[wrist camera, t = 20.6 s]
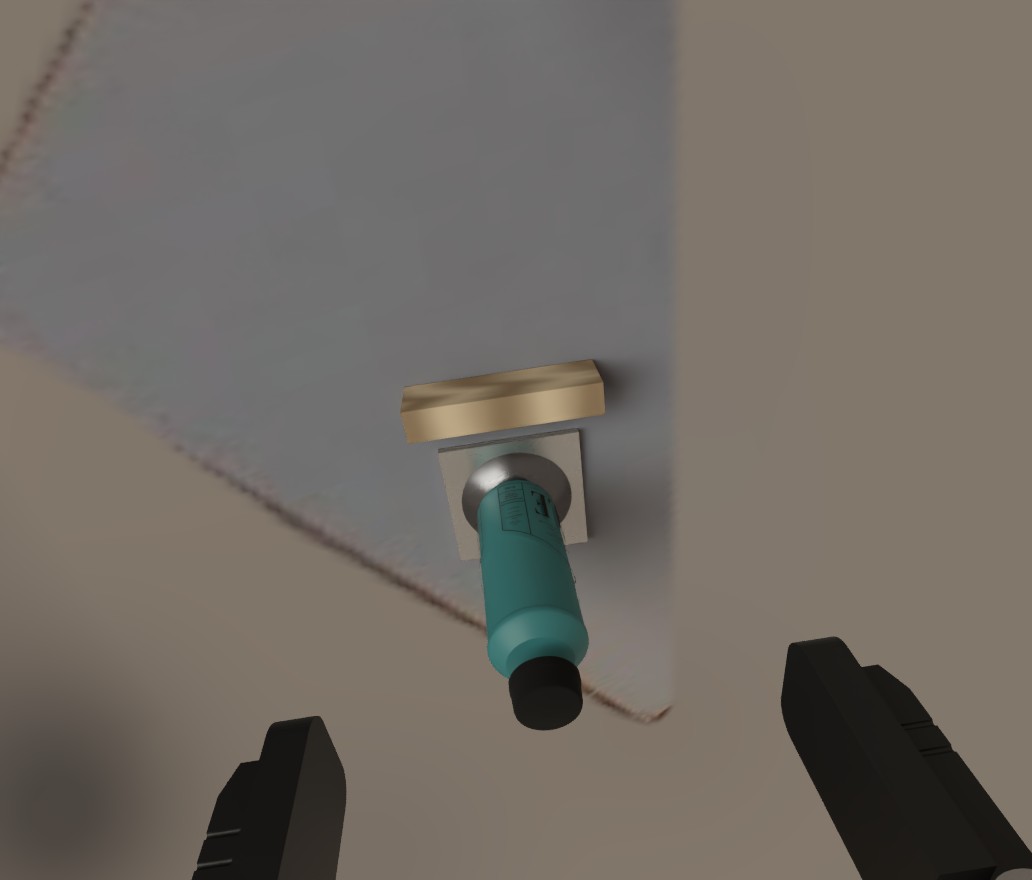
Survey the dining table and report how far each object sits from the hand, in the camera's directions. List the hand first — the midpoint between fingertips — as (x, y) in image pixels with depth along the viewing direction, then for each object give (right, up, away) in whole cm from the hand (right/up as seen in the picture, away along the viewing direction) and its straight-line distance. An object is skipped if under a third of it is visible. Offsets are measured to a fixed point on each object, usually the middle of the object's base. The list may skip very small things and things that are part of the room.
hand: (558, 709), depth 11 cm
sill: (-2, +8, +37) cm, 38 cm away
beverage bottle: (-1, 0, +41) cm, 41 cm away
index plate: (-1, 0, +42) cm, 42 cm away
